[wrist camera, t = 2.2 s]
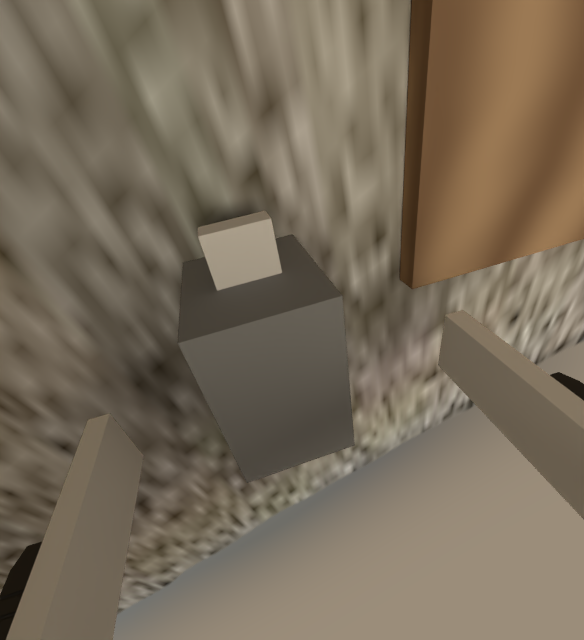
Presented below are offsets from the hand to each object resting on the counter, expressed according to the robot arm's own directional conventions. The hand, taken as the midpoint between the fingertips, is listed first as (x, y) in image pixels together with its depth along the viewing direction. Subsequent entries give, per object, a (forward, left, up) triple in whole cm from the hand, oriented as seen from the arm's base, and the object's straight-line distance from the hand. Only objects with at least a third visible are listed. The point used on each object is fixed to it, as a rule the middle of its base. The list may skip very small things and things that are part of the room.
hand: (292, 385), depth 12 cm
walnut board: (+14, +6, -5) cm, 16 cm away
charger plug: (0, 0, -5) cm, 5 cm away
